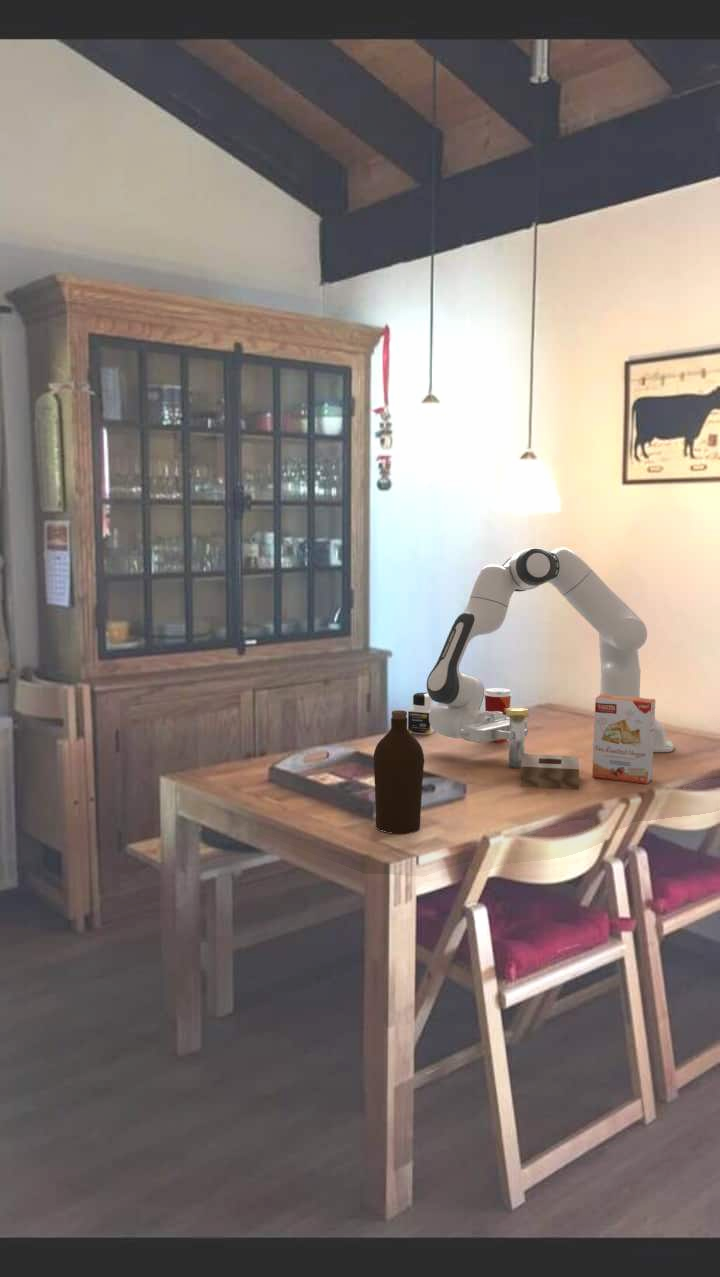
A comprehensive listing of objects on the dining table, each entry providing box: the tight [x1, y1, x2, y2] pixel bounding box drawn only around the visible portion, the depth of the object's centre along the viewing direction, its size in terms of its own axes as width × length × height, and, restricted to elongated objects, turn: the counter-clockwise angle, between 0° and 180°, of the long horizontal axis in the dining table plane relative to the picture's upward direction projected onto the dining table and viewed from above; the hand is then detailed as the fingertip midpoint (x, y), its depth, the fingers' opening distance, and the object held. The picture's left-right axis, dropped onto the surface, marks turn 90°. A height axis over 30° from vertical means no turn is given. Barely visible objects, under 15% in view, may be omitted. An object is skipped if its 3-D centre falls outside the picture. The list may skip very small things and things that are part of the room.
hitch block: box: [519, 753, 580, 790], centre depth 260 cm, size 14×14×5 cm
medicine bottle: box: [407, 692, 436, 736], centre depth 318 cm, size 7×7×12 cm
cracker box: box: [591, 694, 656, 785], centre depth 262 cm, size 14×6×21 cm, turn 63°
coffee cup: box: [484, 687, 513, 743], centre depth 308 cm, size 8×8×15 cm
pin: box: [506, 707, 530, 769], centre depth 274 cm, size 6×6×15 cm
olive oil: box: [373, 709, 425, 834], centre depth 219 cm, size 11×11×25 cm
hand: (519, 734), depth 273 cm, fingers closed on pin, 4 cm apart
